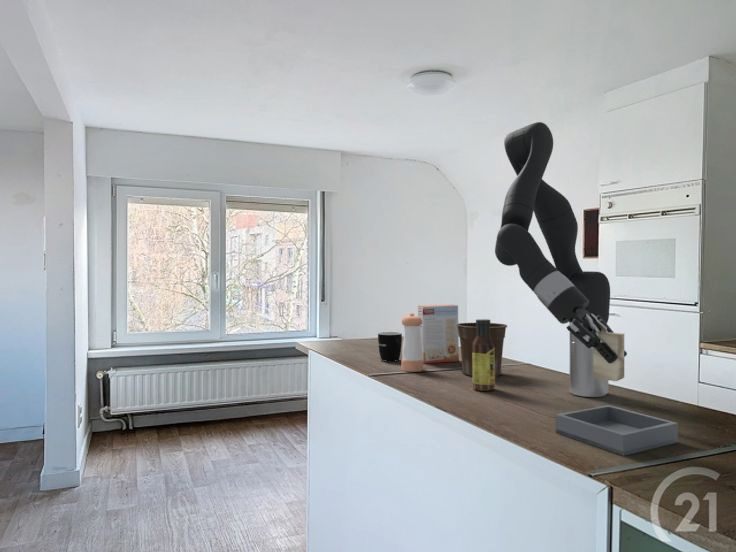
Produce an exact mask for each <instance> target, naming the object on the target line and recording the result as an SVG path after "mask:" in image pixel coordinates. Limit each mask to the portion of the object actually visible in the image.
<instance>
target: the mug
mask: <svg viewBox="0 0 736 552" xmlns="http://www.w3.org/2000/svg"><path fill="white" fill-rule="evenodd" d="M377 344H378V352H379V357H380V360H381V359H382V360H386V361H385V362H389V361H391V362H396V361H395V360H398V361H399V360H400V358H401V351H402V346H403V334H402V332H398V331H382V332H378V333H377ZM382 360H381V361H382Z"/></svg>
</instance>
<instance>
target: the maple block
mask: <svg viewBox="0 0 736 552" xmlns="http://www.w3.org/2000/svg"><path fill="white" fill-rule="evenodd" d="M599 336H600V337H601V338H602V339H603V340H604V343H606V344H607V345H608V346H609V347H610V348H611V349H612V350H613V351H614V352H615V353H616V354H617V355H618V358H617V359H616V360H615V361H614V362H613V363H608V362H607V361H606V360H605V359H604V358H603V357H602V355H601V354H600V353H599V352H598V351H597V349H596V350H594V349H593V378H596V379H603V380H608V381H612V382H619V381H620V380H623V379H624V378H625V357H624V350H625V333H621V332H614V333H610V332H599ZM604 343H603V344H604Z"/></svg>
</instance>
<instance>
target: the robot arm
mask: <svg viewBox="0 0 736 552" xmlns="http://www.w3.org/2000/svg"><path fill="white" fill-rule="evenodd" d="M503 144H504V145H503V147H504V151H505V154H506V156H507V159H508V161H509V163H510V164H511V166H512V168H513V170H514V172H515V174H516V177H515V179H514V180H513V182H511V184H510V186H509V188H508V190H507V192H506V195H505V197H504V202H503V208H502V213H501V223H500V228H499V230H498V232H497V236H496V242H495V247H494V253H495V256H496V257H495V258H496V259H497V260H498V261H499V263H501V264H502V265H504V266H507V267H512V266H513V267H514V266H516V265H517V267H518V273H519V276H520V279H521V280H522V281H523V282H524V283H525V284H526V285H527V287H529V288H530V290H531V291H532V292H533V293H534V295H535V296H536V297H537V299H538V300H539V301H540V303H542V305H543V306H544V307H545V308H546V309H547V310H548V311H549V313H550V314H552V315H553V317H554V318H555V319H556V321H558V323H560V324H562V325H565V324H568V325H567V326H566V330H567V331H568V332H569V393H570V394H572V395H575V396H579V397H587V398H601V397H605V396H606V395H607V394H609V380H603V379H596V378H593V349H594V350H596V349H597V351H598V352H599V353H600V354H601V355H602V357H603V358H604V359H605V360H606V361H607V362H608V363H613V362H614V361H615V360H616V359H617V358H618V355H617V354H616V353H615V352H614V351H613V350H612V349H611V348H610V347H609V346H608V345H607V344H606V343H604V340H603V339H602V338H601V337H600V336H599V332H610V333H615V332H614V331H613V330H612V329H611V327H610V325H609V324H608V322H609V318H610V308H611V307H610V305H611V285H610V281H609V278H608V277H607V275H606V274H604V273H603V272H600V271H589V270H586V271H583V269H582V268H581V265H580V263H579V260H578V258H577V255H576V244H577V240H578V239H577V238H578V234H579V233H578V230H579V229H578V228H579V224H578V221H577V218H576V216H575V213H574V210H573V208H572V205H571V204H570V201H569V200H568V198H566V196H564V195H563V194H562V193H561V192H560V191H558V190H556V189H555V188H554V187H553V186H551V185H550V184H548V182H546V181H545V180H544V179H543V177H544V174H545V172H546V170H547V166H548V164H549V161H550V158H551V156H552V153H553V149H554V136H553V134H552V131H551V129H550V127H549V126H548V125H547V124H546V123H544V122H542V121H538V122H537V121H536V122H533V123H530V124H528V125H526V126H524V127H521V128H519V129H516V130H514V131H512V132H509V133H508V134H506V135H505V137H504V141H503ZM533 216H535V219H536V221H537V224H538V226H539V229H540V231H541V233H542V235H543V238H544V240H545V242H546V244H547V248H548V250H549V253H550V256H551V258H552V261H553V263H551V261H550V260H548V259H547V258H546V256H545V255H544V253H543V251H542V249H541V247H540V245H538V242H537V241H536V240H535V239H534V237H533V235H532V234H531V233H530V232H529V229H530V225H531V222H532V219H533ZM603 343H604V344H603ZM627 356H628V353H627V351H626V350H625V349H624V358H625V357H627Z"/></svg>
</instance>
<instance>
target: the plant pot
mask: <svg viewBox="0 0 736 552" xmlns="http://www.w3.org/2000/svg"><path fill="white" fill-rule="evenodd" d="M456 326H457V327H458V335H459V345H460V355H461V356H460V357H461V370H462V373H463V374H464V375H465V376H469V377H470V376H471V377H473V370H472V352H473V341H474V339H475V338H476V336H477V334H476V333H477V326H476V322H460V323H459V322H458V324H456ZM507 328H508V325H507V324H504V323H497V322H496V323H495V322H490V336H491V339H492V341H493V344H494V347H495V377H497V376H500V375H501V374H502V373H501V372H502V362H503V351H504V350H503V349H504V342H505V341H504V339H505V338H506V330H507Z"/></svg>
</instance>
